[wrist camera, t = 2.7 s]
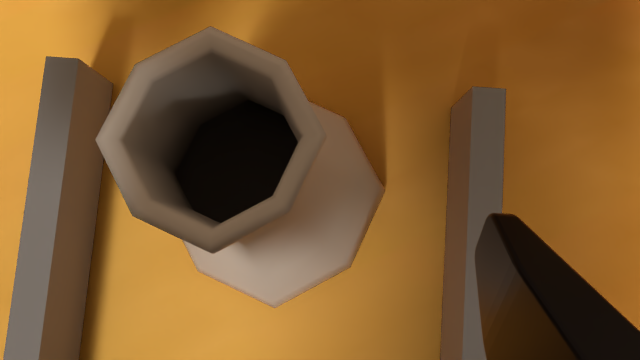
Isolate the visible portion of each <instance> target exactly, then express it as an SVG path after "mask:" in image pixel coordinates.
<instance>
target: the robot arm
mask: <svg viewBox="0 0 640 360" xmlns="http://www.w3.org/2000/svg"><path fill="white" fill-rule="evenodd" d="M475 269H476V279H477V289H478V299H479V308H480V318H481V328H482V336H483V344H484V349H485V354H486V359H487V360H640V331H639V330H638V329H637V328H636V327H635V326H634V325H633V324H632V323H630V322H629V321H628V320H627V319H626V318H625V317H624V316H623V315H622V314H621V313H620V312H619V311H618V310H617V309H615V308H614V307H613V306H612V305H611V304H610V303H609V302H608V301H607V300H606V299H605V298H604V297H603V296H602V295H601V294H599V293H598V292H597V291H596V290H595V289H594V288H593V287H592V286H591V285H590V284H589V283H588V282H587V281H586V280H585V279H583V278H582V277H581V276H580V275H579V274H578V273H577V272H576V271H575V270H574V269H573V268H572V267H571V266H570V265H569V264H567V263H566V262H565V261H564V260H563V259H562V258H561V257H560V256H559V255H558V254H557V253H556V252H555V251H554V250H552V249H551V248H550V247H549V246H548V245H547V244H546V243H545V242H544V241H543V240H542V239H541V238H540V237H539V236H538V235H536V234H535V233H534V232H533V231H532V230H531V229H530V228H529V227H528V226H527V225H526V224H525V223H524V222H523V221H522V220H520V219H519V218H518V217H517V216H515V215H513V214H503V213H491V214H489V215H488V216H487V218H486V220H485V223H484V226H483V228H482V231H481V234H480V237H479V239H478V242H477V245H476V248H475Z"/></svg>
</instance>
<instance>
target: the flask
mask: <svg viewBox="0 0 640 360" xmlns="http://www.w3.org/2000/svg"><path fill="white" fill-rule="evenodd" d="M95 140H96V142H97V144H98V146H99V149H100V151H101V153H102V155H103V157H104V159H105V161H106V163H107V165H108V167H109V169H110V171H111V173H112V175H113V177H114V179H115V181H116V183H117V185H118V187H119V189H120V191H121V193H122V195H123V198H124V200H125V202H126V204H127V206H128V208H129V210H130V212H131V214H132V216H134V217H136V218H138V219H140V220H142V221H144V222H146V223H148V224H151V225H153V226H155V227H157V228H159V229H161V230H163V231H165V232H167V233H169V234H171V235H174V236H176V237H178V238H180V239H182V240H183V242H184V244H185V246H186V248H187V250H188V252H189V254H190V256H191V258H192V260H193V262H194V264H195V266H196V268H197V270H198V271H199V272H201V273H203V274H205V275H207V276H209V277H211V278H213V279H215V280H217V281H219V282H221V283H223V284H226V285H228V286H230V287H232V288H234V289H236V290H238V291H240V292H242V293H244V294H246V295H248V296H251V297H253V298H255V299H257V300H259V301H261V302H263V303H265V304H267V305H269V306H271V307H273V308H276V307H278V306H280V305H282V304H283V303H285V302H287V301H289V300H291V299H293V298H294V297H296V296H298V295H300V294H302V293H304V292H306V291H307V290H309V289H311V288H313V287H315V286H317V285H318V284H320V283H322V282H324V281H326V280H328V279H329V278H331V277H333V276H335V275H337V274H339V273H341V272H342V271H344V270H346V269H348V268H350V267H351V265H352V262H353V260H354V258H355V256H356V254H357V251H358V249H359V247H360V245H361V243H362V240H363V238H364V236H365V234H366V232H367V229H368V227H369V225H370V223H371V221H372V218H373V216H374V214H375V212H376V210H377V207H378V205H379V203H380V201H381V199H382V196H383V194H384V192H385V189H384V187H383V185H382V183H381V182H380V180H379V178H378V176H377V174H376V173H375V171H374V169H373V167H372V165H371V163H370V162H369V160H368V158H367V156H366V154H365V153H364V151H363V149H362V147H361V145H360V143H359V142H358V140H357V138H356V136H355V134H354V133H353V131H352V129H351V127H350V125H349V123H348V122H347V120H346V118H344V117H342V116H340V115H338V114H336V113H333V112H331V111H329V110H327V109H325V108H323V107H320V106H318V105H316V104H314V103H312V102H309V101H308V100H307V98H306V96H305V94H304V92H303V90H302V89H301V87H300V85H299V83H298V81H297V79H296V78H295V76H294V74H293V72H292V70H291V68H290V67H289V65H288V63H287V61H286V60H284V59H282V58H280V57H277V56H275V55H273V54H271V53H268V52H266V51H264V50H262V49H260V48H257V47H255V46H253V45H251V44H249V43H246V42H244V41H242V40H240V39H238V38H235V37H233V36H231V35H229V34H227V33H224V32H222V31H220V30H218V29H216V28H213V27H211V26H210V27H208V28H206V29H204V30H202V31H200V32H198V33H196V34H194V35H192V36H190V37H188V38H186V39H184V40H182V41H180V42H178V43H176V44H174V45H172V46H170V47H168V48H166V49H164V50H162V51H161V52H159V53H157V54H155V55H153V56H151V57H149V58H147V59H145V60H143V61H141V62H139V63H137V64H135V65H134V67H133V69H132V71H131V73H130V75H129V77H128V79H127V80H126V82H125V84H124V86H123V88H122V90H121V92H120V94H119V96H118V98H117V99H116V101H115V103H114V105H113V107H112V109H111V111H110V113H109V115H108V117H107V118H106V120H105V122H104V124H103V126H102V128H101V130H100V132H99V134H98V135H97V137H96V139H95Z"/></svg>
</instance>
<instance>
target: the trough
mask: <svg viewBox="0 0 640 360" xmlns="http://www.w3.org/2000/svg"><path fill="white" fill-rule="evenodd" d="M112 88H113V84H112V83H111V82H110V81H108V80H107V79H106V78H104V77H103V76H102V75H100V74H99V73H98V72H96V71H95V70H93V69H92V68H91V67H89V66H88V65H87V64H85V63H84V62H83V61H81V60H80V59H76V58H62V57H48V56H46V61H45V68H44V75H43V82H42V89H41V96H40V103H39V110H38V118H37V125H36V132H35V139H34V146H33V153H32V160H31V167H30V174H29V181H28V188H27V196H26V203H25V210H24V217H23V224H22V231H21V238H20V245H19V252H18V259H17V266H16V273H15V281H14V288H13V295H12V302H11V309H10V316H9V323H8V330H7V337H6V344H5V351H4V359H3V360H79V353H80V345H81V337H82V329H83V321H84V313H85V305H86V297H87V289H88V281H89V273H90V265H91V257H92V249H93V241H94V233H95V225H96V217H97V209H98V201H99V193H100V185H101V176H102V168H103V160H104V157H103V155H102V153H101V151H100V149H99V146H98V144H97V142H96V140H95V139H96V137H97V135H98V134H99V132H100V130H101V128H102V126H103V124H104V122H105V120H106V118H107V117H108V115H109V112H110V104H111V96H112ZM505 104H506V89H501V88H487V87H472V88H471V89H470V90H469V91H468V92H467V93H466V94H465V95H464V96H463V97H462V98H461V99H460V100H459V101H458V102H457V103H456V104H455V105H454V106H453V107H452V108H451V122H450V145H449V168H448V190H447V213H446V236H445V258H444V281H443V304H442V326H441V349H440V360H487V359H486V354H485V349H484V344H483V336H482V328H481V318H480V308H479V299H478V289H477V279H476V269H475V248H476V245H477V242H478V239H479V237H480V234H481V231H482V228H483V226H484V223H485V220H486V218H487V216H488V215H489V214H491V213H502V200H503V168H504V136H505Z"/></svg>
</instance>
